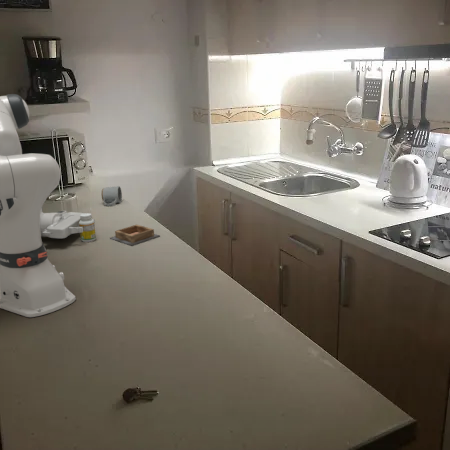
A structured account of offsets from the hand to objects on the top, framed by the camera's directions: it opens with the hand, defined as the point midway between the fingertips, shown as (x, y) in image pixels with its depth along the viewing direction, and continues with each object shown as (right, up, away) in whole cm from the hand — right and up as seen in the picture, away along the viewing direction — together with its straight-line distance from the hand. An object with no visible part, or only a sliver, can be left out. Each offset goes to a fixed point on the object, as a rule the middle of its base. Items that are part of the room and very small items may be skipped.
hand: (88, 225), depth 187 cm
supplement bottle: (0, -5, +2) cm, 6 cm away
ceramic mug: (-3, +10, +52) cm, 53 cm away
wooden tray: (+16, -4, +2) cm, 17 cm away
